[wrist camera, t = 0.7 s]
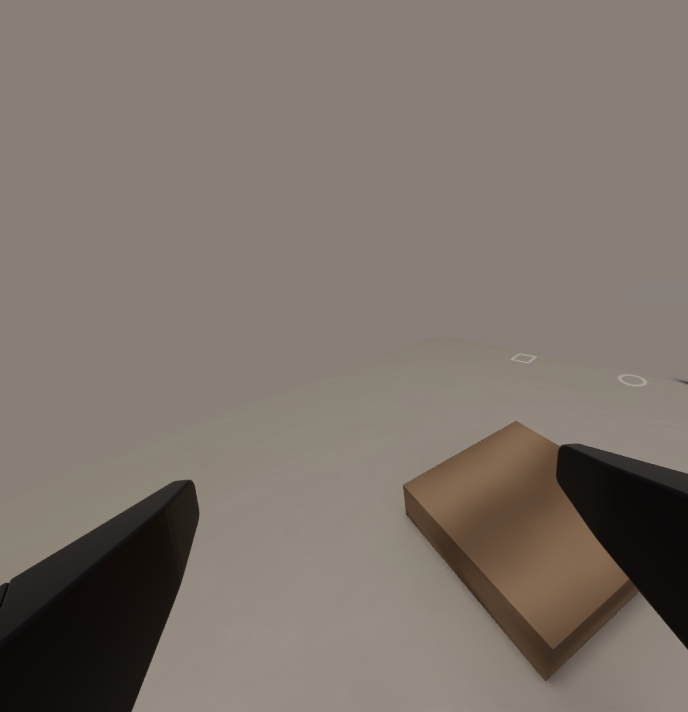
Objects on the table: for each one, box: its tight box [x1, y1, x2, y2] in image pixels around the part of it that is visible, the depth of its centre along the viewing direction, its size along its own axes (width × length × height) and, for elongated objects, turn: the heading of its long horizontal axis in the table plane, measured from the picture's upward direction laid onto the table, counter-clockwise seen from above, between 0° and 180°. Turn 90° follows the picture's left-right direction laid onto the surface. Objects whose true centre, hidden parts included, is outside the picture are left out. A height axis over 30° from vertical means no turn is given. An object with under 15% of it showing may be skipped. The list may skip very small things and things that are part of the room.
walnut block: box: [403, 421, 639, 681], centre depth 22 cm, size 11×11×4 cm
